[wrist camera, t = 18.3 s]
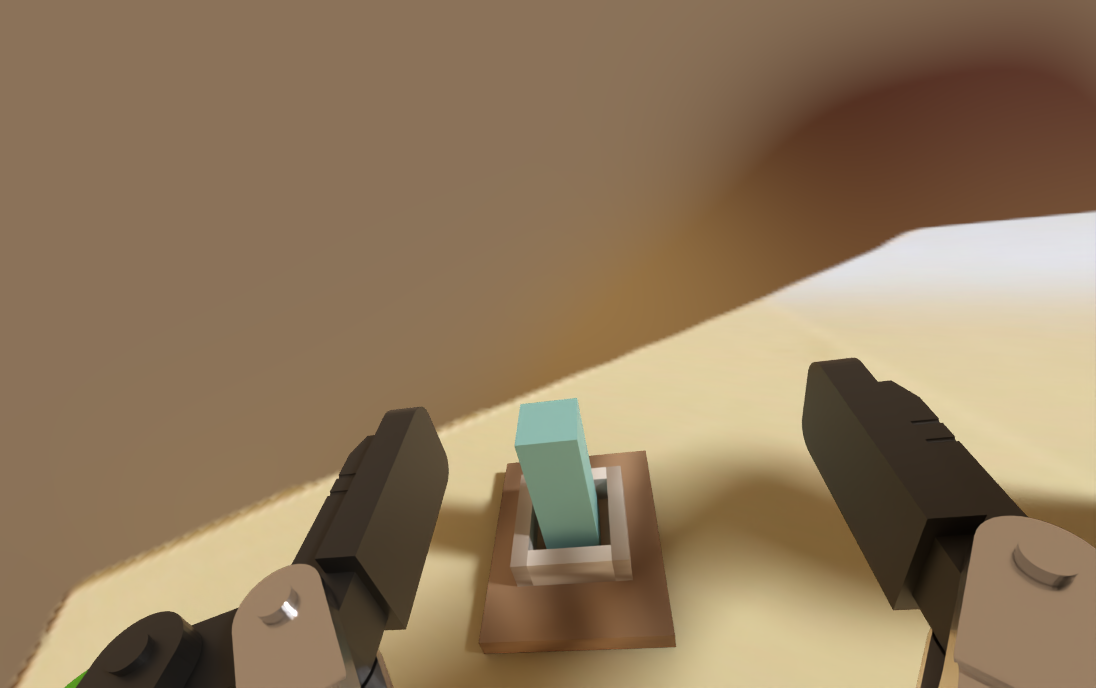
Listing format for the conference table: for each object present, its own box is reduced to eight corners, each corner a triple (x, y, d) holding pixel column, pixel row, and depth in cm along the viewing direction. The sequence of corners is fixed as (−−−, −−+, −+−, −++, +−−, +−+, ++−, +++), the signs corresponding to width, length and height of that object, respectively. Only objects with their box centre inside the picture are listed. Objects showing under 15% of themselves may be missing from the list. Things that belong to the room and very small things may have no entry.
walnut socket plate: (646, 462, 45) (643, 430, 43) (675, 646, 32) (673, 614, 30) (510, 474, 47) (501, 444, 45) (484, 653, 34) (468, 624, 31)
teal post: (599, 509, 40) (577, 397, 33) (601, 553, 36) (577, 439, 30) (551, 513, 40) (520, 404, 34) (549, 557, 37) (514, 445, 31)
